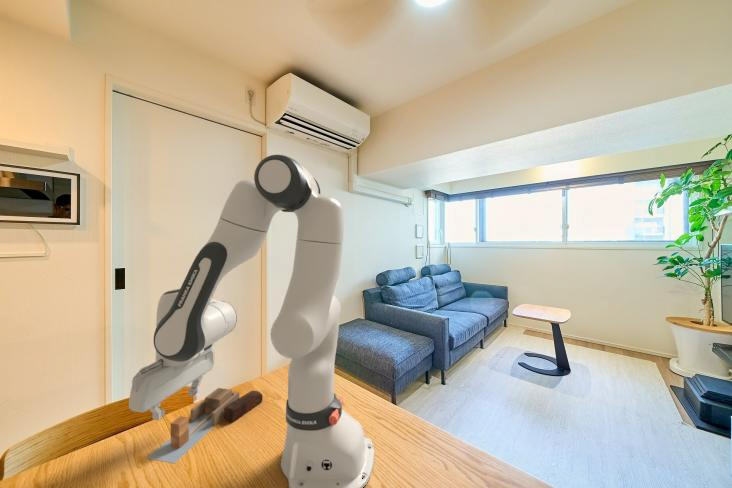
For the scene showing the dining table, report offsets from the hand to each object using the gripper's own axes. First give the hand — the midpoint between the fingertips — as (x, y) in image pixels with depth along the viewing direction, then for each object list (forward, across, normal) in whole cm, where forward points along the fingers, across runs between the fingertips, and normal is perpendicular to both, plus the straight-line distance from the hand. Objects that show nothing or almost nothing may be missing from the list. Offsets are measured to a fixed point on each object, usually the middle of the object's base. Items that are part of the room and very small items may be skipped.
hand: (177, 405), depth 63 cm
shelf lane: (+11, +6, -1) cm, 12 cm away
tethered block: (+10, +7, -1) cm, 12 cm away
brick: (+11, +14, -9) cm, 20 cm away
